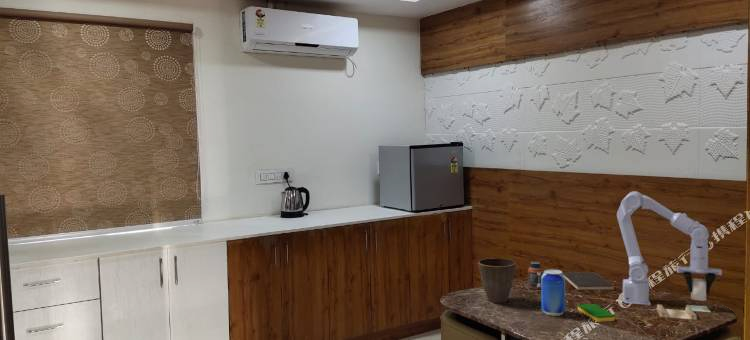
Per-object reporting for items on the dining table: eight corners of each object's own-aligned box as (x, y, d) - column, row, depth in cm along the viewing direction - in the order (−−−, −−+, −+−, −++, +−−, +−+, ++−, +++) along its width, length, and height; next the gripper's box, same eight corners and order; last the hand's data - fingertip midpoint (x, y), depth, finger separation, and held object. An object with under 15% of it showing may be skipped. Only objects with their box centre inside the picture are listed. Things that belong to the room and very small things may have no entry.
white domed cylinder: (692, 299, 200) (692, 281, 199) (689, 295, 206) (689, 277, 205) (707, 301, 198) (707, 282, 197) (703, 296, 204) (704, 278, 203)
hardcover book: (577, 291, 231) (577, 285, 230) (561, 277, 253) (561, 272, 253) (614, 290, 230) (614, 285, 229) (596, 277, 252) (596, 272, 252)
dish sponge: (594, 309, 205) (594, 303, 205) (615, 321, 191) (615, 315, 191) (577, 310, 204) (577, 304, 204) (596, 323, 191) (596, 316, 190)
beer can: (564, 310, 204) (564, 269, 203) (565, 317, 196) (565, 275, 195) (541, 308, 206) (541, 268, 205) (541, 315, 198) (541, 273, 197)
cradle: (660, 317, 193) (660, 312, 193) (655, 309, 203) (655, 304, 203) (697, 321, 189) (698, 315, 189) (691, 312, 199) (691, 307, 199)
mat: (689, 311, 199) (689, 310, 199) (685, 306, 206) (685, 304, 206) (711, 313, 197) (711, 312, 197) (706, 307, 204) (706, 306, 204)
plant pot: (475, 304, 214) (474, 264, 213) (482, 293, 227) (482, 257, 227) (513, 307, 208) (513, 267, 207) (518, 297, 222) (517, 259, 221)
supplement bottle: (543, 290, 231) (543, 264, 231) (529, 289, 232) (528, 264, 232) (541, 286, 237) (541, 261, 236) (527, 285, 238) (527, 260, 238)
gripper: (679, 258, 199) (679, 293, 200) (724, 260, 194) (723, 296, 195) (675, 254, 206) (675, 288, 206) (719, 256, 201) (718, 291, 202)
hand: (698, 292), depth 201 cm, fingers closed on white domed cylinder, 5 cm apart
